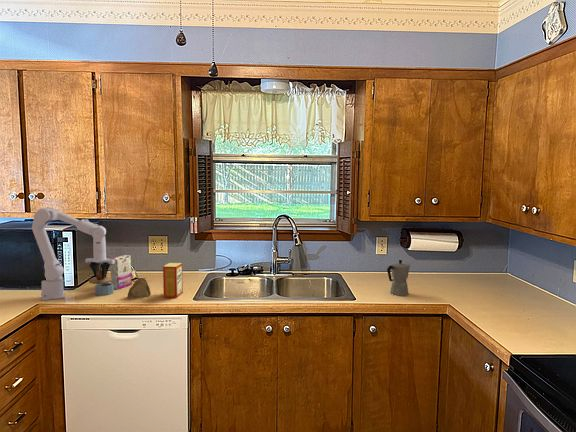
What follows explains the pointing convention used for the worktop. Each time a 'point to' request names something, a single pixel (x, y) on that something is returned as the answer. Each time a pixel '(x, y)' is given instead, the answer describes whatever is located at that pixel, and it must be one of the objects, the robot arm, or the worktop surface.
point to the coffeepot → (399, 278)
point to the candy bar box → (121, 272)
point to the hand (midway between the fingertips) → (100, 277)
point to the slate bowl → (104, 289)
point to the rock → (139, 289)
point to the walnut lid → (99, 278)
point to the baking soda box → (172, 280)
